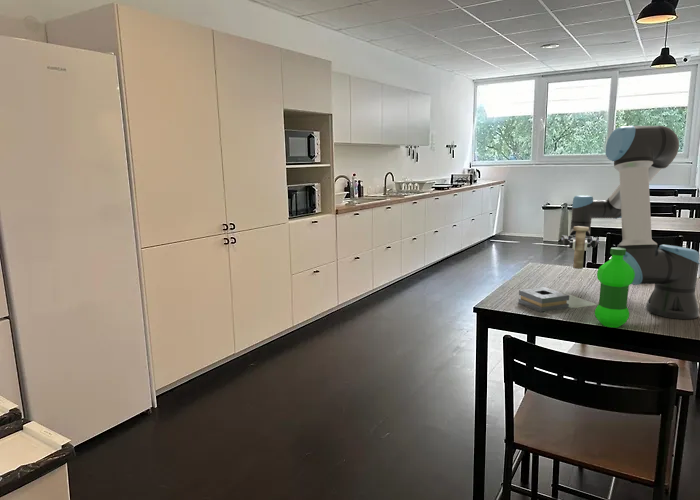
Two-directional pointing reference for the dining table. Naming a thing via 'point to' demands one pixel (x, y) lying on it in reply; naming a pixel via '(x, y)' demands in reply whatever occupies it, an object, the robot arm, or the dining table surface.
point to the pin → (579, 246)
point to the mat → (578, 302)
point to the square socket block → (543, 299)
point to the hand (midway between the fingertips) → (579, 246)
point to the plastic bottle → (614, 289)
